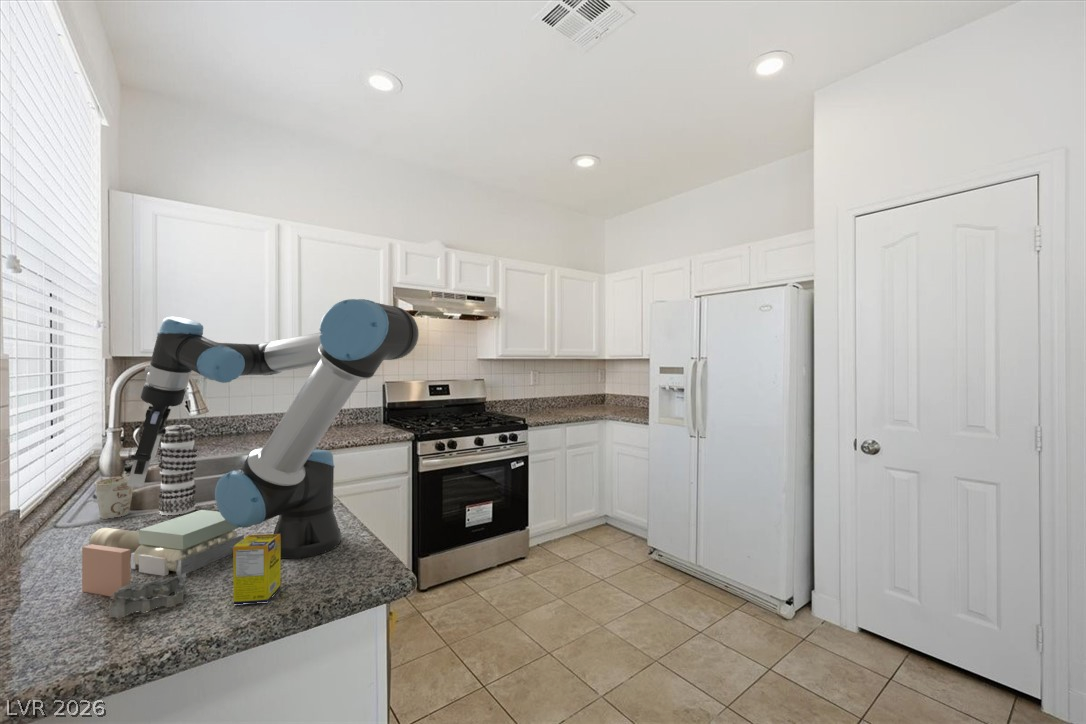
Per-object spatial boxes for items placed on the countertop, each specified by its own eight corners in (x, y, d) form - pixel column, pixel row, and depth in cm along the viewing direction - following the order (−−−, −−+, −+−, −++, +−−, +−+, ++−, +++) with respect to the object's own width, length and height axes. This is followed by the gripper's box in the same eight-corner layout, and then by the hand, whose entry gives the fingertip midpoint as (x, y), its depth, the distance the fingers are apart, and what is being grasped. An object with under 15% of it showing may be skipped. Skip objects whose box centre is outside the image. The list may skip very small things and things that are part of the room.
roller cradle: (168, 574, 98) (168, 557, 98) (126, 592, 90) (126, 574, 90) (142, 570, 99) (142, 553, 99) (98, 588, 92) (98, 570, 91)
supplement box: (281, 588, 92) (281, 532, 92) (267, 604, 86) (268, 544, 86) (248, 590, 91) (248, 534, 91) (232, 606, 85) (232, 546, 85)
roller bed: (243, 548, 111) (243, 526, 111) (178, 577, 96) (178, 552, 96) (198, 542, 115) (198, 521, 115) (128, 569, 100) (128, 545, 100)
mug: (100, 522, 128) (100, 485, 128) (85, 514, 135) (85, 479, 135) (139, 514, 135) (139, 479, 135) (122, 506, 142) (122, 473, 142)
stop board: (130, 594, 89) (130, 549, 89) (121, 598, 88) (121, 552, 88) (91, 587, 92) (91, 544, 92) (82, 591, 90) (82, 547, 90)
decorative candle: (153, 511, 137) (154, 425, 137) (192, 504, 144) (192, 422, 144) (161, 518, 131) (161, 429, 131) (200, 510, 139) (201, 425, 138)
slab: (241, 526, 111) (241, 514, 111) (182, 549, 98) (182, 535, 98) (200, 522, 114) (201, 509, 114) (139, 543, 101) (139, 529, 101)
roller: (142, 549, 110) (142, 528, 110) (118, 558, 106) (118, 536, 106) (113, 545, 113) (113, 524, 113) (89, 553, 108) (89, 532, 108)
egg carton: (103, 623, 80) (103, 599, 80) (116, 603, 86) (116, 581, 86) (182, 607, 85) (182, 585, 85) (188, 589, 92) (188, 568, 92)
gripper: (155, 367, 114) (132, 448, 116) (132, 399, 94) (105, 497, 95) (192, 373, 118) (170, 451, 120) (178, 406, 98) (152, 499, 99)
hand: (141, 472), depth 108 cm, fingers open, 13 cm apart
